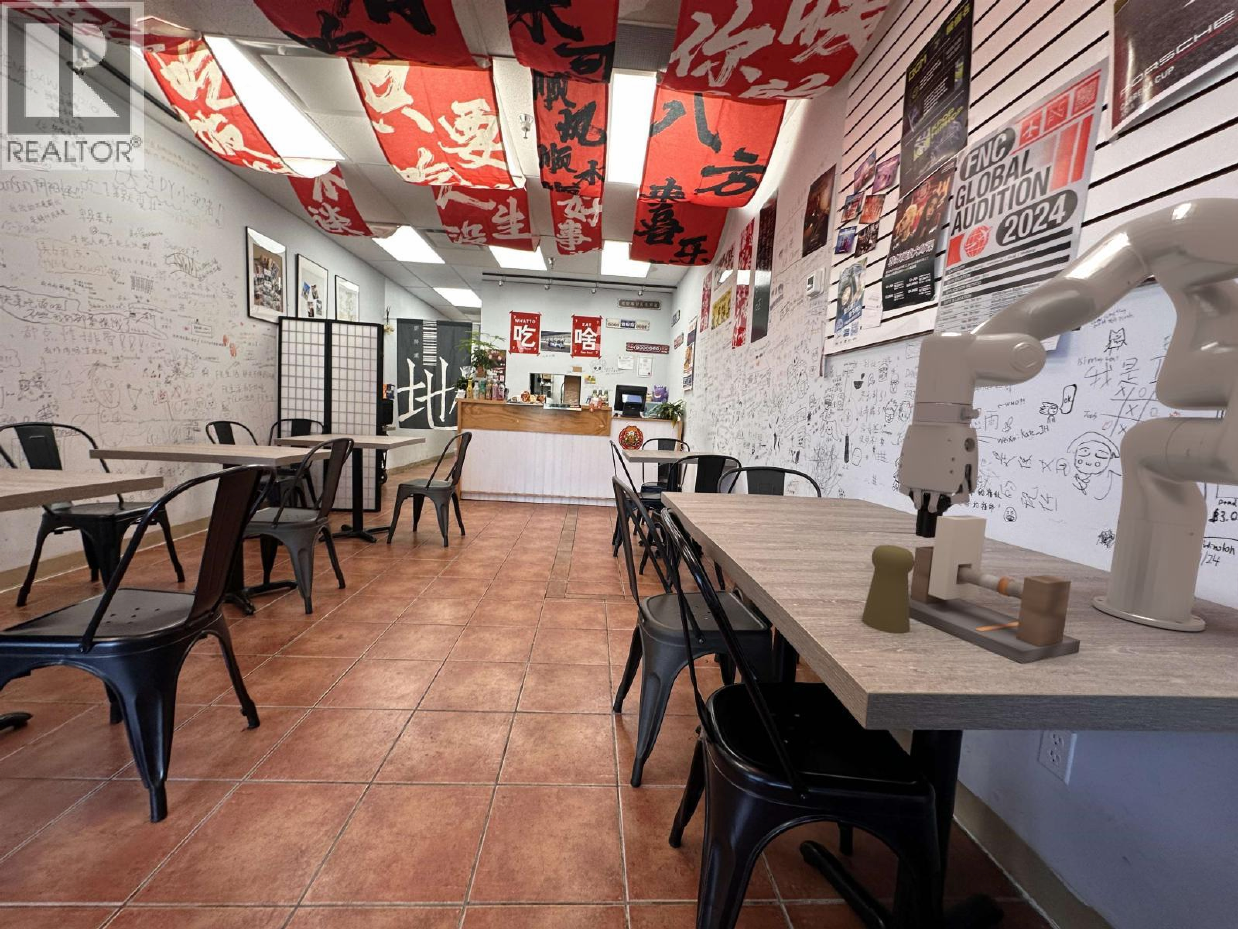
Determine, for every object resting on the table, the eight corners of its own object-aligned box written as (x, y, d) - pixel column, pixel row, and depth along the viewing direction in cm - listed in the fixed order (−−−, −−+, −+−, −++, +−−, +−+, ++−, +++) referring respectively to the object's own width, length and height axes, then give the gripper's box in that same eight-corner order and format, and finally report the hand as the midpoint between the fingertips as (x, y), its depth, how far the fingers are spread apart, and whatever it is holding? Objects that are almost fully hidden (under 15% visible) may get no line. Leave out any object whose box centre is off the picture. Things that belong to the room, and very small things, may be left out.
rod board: (944, 603, 84) (951, 544, 83) (1078, 651, 67) (1089, 579, 67) (891, 609, 79) (898, 547, 78) (1021, 663, 63) (1031, 586, 62)
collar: (959, 590, 79) (969, 515, 78) (976, 596, 77) (986, 518, 76) (928, 594, 76) (937, 516, 75) (944, 599, 74) (954, 519, 73)
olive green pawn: (914, 636, 69) (924, 554, 68) (864, 628, 71) (872, 548, 70) (905, 620, 75) (914, 545, 74) (859, 613, 77) (867, 539, 76)
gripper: (1010, 419, 73) (993, 548, 75) (913, 417, 87) (901, 525, 89) (974, 416, 70) (958, 550, 72) (881, 414, 84) (869, 526, 86)
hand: (927, 536), depth 80 cm, fingers closed
